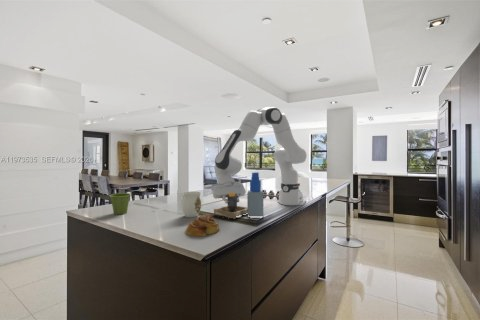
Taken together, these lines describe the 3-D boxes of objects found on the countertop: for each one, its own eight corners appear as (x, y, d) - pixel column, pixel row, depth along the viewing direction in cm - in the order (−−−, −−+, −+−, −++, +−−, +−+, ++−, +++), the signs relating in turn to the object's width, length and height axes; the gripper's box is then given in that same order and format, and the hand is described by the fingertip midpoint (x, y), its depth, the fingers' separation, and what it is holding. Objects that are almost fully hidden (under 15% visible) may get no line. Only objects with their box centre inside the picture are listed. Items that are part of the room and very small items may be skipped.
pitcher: (207, 212, 147) (207, 189, 147) (193, 220, 130) (193, 194, 129) (191, 211, 150) (191, 189, 150) (175, 218, 133) (175, 193, 133)
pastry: (224, 230, 113) (224, 213, 113) (198, 239, 102) (197, 220, 102) (206, 225, 122) (206, 209, 122) (180, 232, 111) (180, 215, 111)
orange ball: (231, 197, 144) (231, 191, 144) (237, 198, 142) (236, 191, 141) (227, 199, 141) (226, 192, 140) (232, 200, 138) (232, 193, 138)
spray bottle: (262, 214, 141) (262, 171, 140) (264, 219, 132) (263, 173, 131) (247, 214, 141) (247, 171, 140) (247, 219, 132) (247, 173, 131)
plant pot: (117, 216, 138) (116, 197, 138) (105, 214, 144) (105, 195, 144) (135, 212, 148) (135, 194, 148) (124, 210, 154) (123, 192, 154)
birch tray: (230, 210, 152) (230, 204, 152) (250, 213, 143) (250, 207, 143) (214, 215, 140) (213, 209, 140) (234, 219, 131) (234, 213, 131)
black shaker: (231, 209, 145) (231, 194, 145) (238, 210, 142) (238, 195, 142) (225, 211, 141) (225, 196, 141) (233, 212, 138) (232, 197, 137)
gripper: (211, 181, 143) (217, 200, 134) (242, 179, 151) (249, 197, 143) (208, 187, 147) (214, 207, 138) (239, 185, 156) (246, 203, 147)
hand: (232, 202), depth 141 cm, fingers closed on black shaker, 5 cm apart
